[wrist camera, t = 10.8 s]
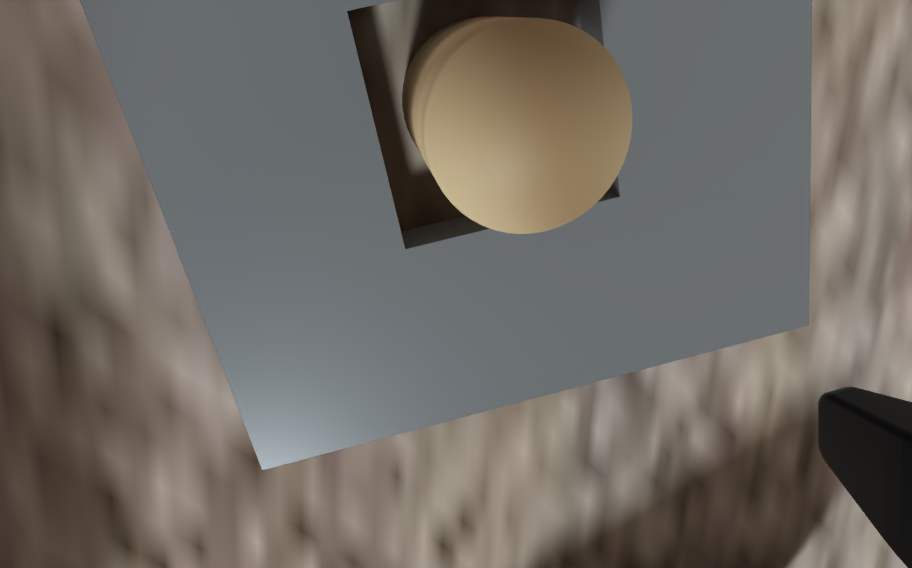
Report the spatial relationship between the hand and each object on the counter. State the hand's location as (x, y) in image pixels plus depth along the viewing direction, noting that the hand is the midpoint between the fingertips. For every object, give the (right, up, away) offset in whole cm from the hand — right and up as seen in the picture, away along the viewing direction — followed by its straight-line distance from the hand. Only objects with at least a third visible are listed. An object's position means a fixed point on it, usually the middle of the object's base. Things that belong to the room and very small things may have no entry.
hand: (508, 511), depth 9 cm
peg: (0, +8, +8) cm, 11 cm away
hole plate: (0, +8, +8) cm, 11 cm away
